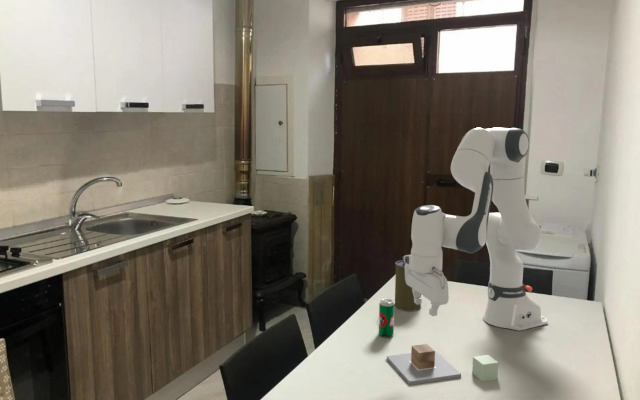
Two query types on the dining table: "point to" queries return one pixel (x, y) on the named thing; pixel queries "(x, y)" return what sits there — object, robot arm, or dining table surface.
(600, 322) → the dining table surface
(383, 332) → the soda can
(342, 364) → the dining table surface
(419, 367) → the walnut brick
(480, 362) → the sage brick
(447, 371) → the board
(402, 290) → the canister
